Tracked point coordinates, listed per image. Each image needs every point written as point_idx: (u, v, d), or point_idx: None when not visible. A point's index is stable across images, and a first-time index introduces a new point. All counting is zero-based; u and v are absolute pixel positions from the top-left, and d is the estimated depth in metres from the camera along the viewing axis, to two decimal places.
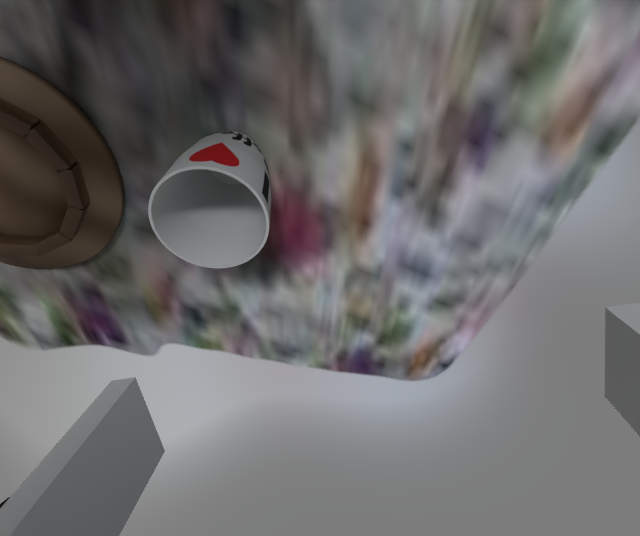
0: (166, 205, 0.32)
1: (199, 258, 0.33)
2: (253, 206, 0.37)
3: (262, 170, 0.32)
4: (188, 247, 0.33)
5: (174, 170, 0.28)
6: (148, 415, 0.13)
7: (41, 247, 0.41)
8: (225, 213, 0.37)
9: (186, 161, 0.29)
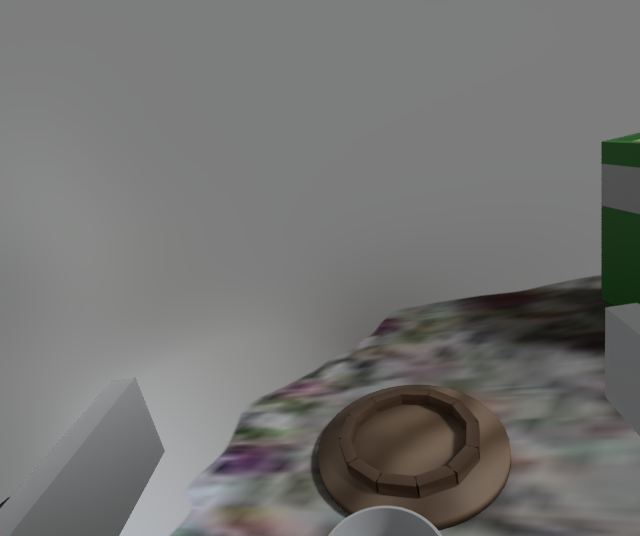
0: None
1: None
2: None
3: None
4: None
5: None
6: (148, 415, 0.13)
7: (345, 441, 0.47)
8: None
9: None
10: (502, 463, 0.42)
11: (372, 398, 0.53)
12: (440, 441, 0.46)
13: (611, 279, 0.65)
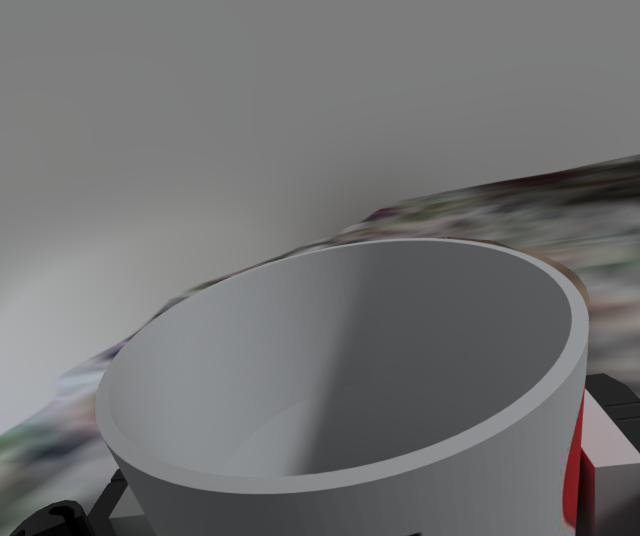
0: (370, 333, 0.12)
1: (206, 314, 0.11)
2: None
3: None
4: (248, 320, 0.11)
5: None
6: None
7: None
8: None
9: None
10: None
11: None
12: None
13: None
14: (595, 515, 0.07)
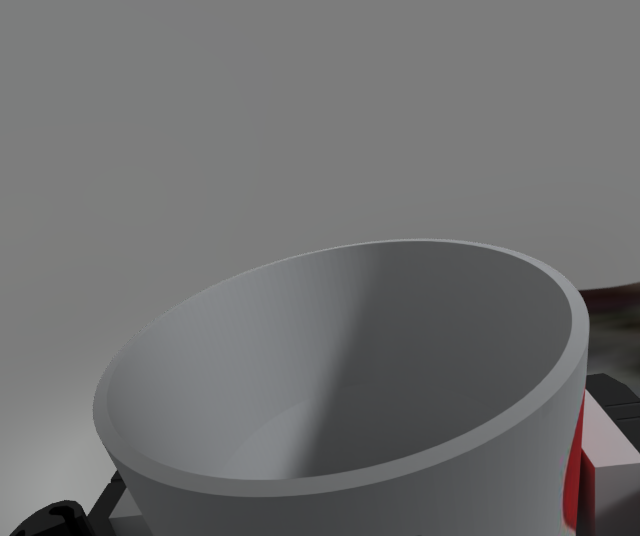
0: (370, 334, 0.12)
1: (205, 314, 0.11)
2: None
3: None
4: (248, 320, 0.11)
5: None
6: None
7: None
8: None
9: None
10: None
11: None
12: None
13: None
14: (595, 515, 0.07)
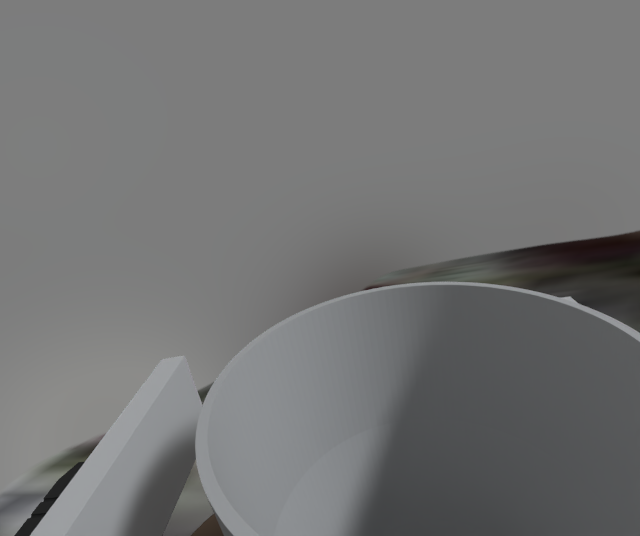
0: (426, 372, 0.12)
1: (272, 354, 0.10)
2: None
3: None
4: (309, 358, 0.11)
5: None
6: (196, 391, 0.14)
7: None
8: None
9: None
10: None
11: None
12: None
13: None
14: None
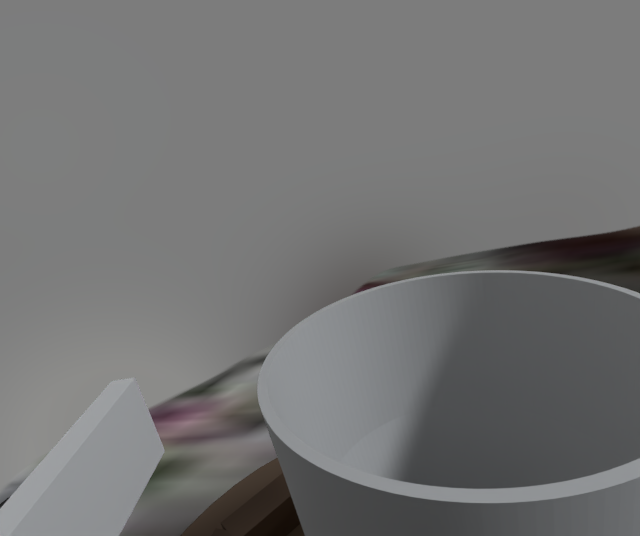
0: (454, 359, 0.13)
1: (313, 338, 0.11)
2: None
3: None
4: (345, 344, 0.12)
5: None
6: (148, 415, 0.13)
7: None
8: None
9: None
10: None
11: None
12: None
13: None
14: None
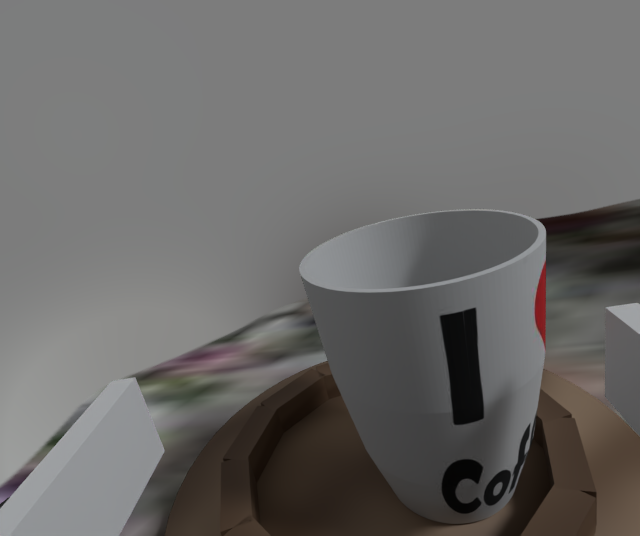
0: (422, 273, 0.19)
1: (328, 256, 0.18)
2: None
3: (491, 397, 0.13)
4: (349, 262, 0.19)
5: None
6: (148, 415, 0.13)
7: (236, 468, 0.19)
8: None
9: None
10: None
11: (318, 369, 0.25)
12: None
13: None
14: None
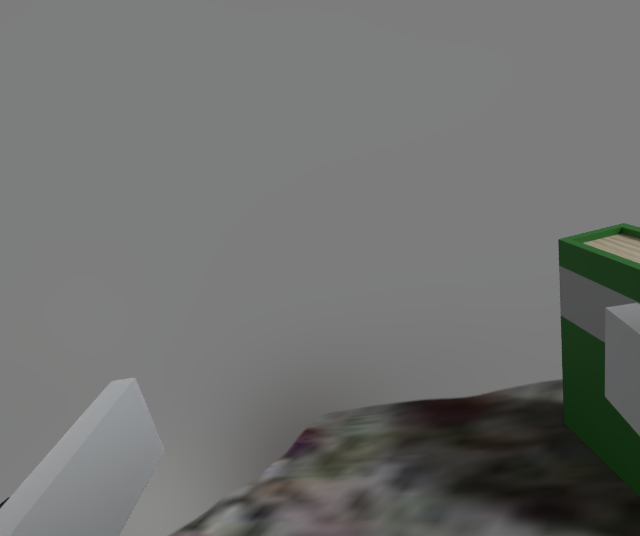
0: None
1: None
2: None
3: None
4: None
5: None
6: (148, 415, 0.13)
7: None
8: None
9: None
10: None
11: None
12: None
13: (574, 405, 0.51)
14: None
